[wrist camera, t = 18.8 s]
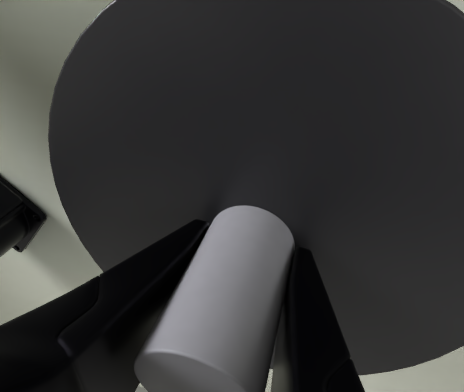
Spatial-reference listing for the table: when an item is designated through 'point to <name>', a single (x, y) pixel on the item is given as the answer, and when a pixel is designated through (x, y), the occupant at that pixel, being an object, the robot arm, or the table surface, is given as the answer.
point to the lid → (273, 172)
